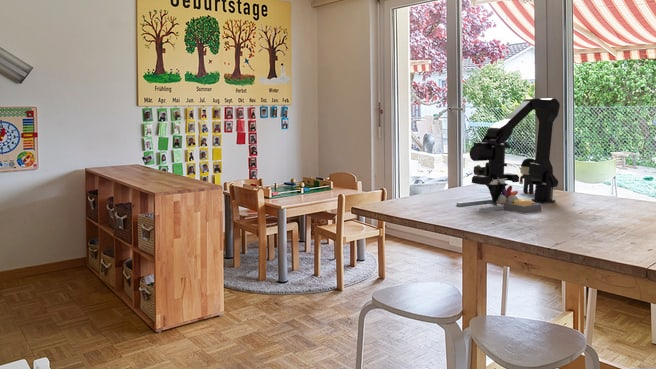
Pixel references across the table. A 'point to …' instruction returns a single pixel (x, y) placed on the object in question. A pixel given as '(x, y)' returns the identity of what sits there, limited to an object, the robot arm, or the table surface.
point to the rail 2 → (491, 208)
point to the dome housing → (523, 207)
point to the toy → (526, 175)
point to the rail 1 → (474, 202)
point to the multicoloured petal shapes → (507, 196)
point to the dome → (522, 202)
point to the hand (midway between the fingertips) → (494, 201)
